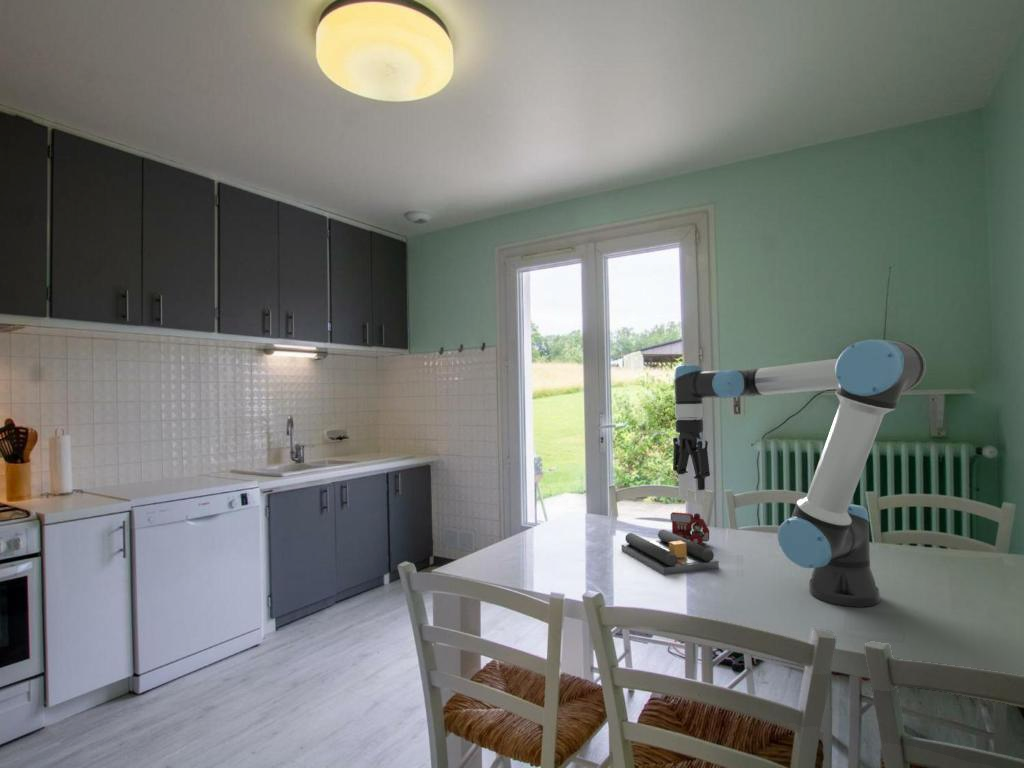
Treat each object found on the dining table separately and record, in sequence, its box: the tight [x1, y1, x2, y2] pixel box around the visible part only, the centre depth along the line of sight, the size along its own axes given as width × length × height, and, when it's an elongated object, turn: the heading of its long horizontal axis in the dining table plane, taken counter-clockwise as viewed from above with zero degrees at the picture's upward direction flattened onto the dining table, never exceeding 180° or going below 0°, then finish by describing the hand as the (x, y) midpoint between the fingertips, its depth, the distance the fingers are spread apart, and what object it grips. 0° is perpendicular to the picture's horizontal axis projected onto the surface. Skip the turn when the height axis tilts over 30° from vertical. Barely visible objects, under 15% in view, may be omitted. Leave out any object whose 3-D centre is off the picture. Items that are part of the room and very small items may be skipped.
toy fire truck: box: [670, 511, 710, 546], centre depth 189 cm, size 7×12×10 cm, turn 64°
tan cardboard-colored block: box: [669, 541, 687, 558], centre depth 167 cm, size 3×4×4 cm
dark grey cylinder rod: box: [625, 532, 678, 566], centre depth 171 cm, size 28×4×4 cm, turn 16°
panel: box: [621, 539, 720, 576], centre depth 173 cm, size 26×18×2 cm
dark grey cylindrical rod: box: [657, 529, 715, 561], centre depth 175 cm, size 28×4×4 cm, turn 16°
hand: (691, 498), depth 160 cm, fingers open, 7 cm apart
